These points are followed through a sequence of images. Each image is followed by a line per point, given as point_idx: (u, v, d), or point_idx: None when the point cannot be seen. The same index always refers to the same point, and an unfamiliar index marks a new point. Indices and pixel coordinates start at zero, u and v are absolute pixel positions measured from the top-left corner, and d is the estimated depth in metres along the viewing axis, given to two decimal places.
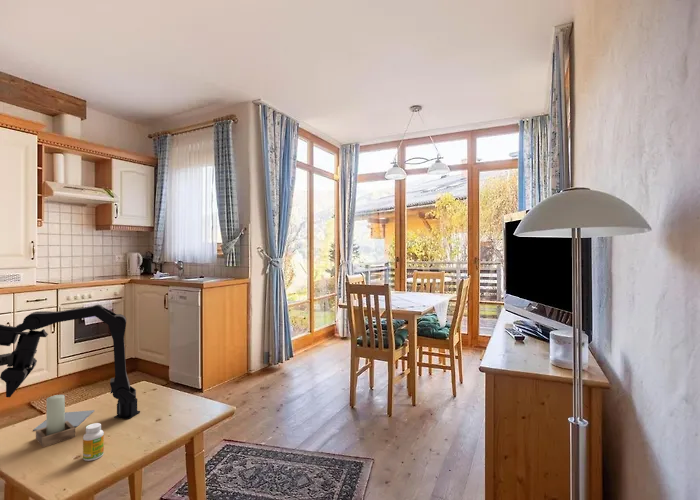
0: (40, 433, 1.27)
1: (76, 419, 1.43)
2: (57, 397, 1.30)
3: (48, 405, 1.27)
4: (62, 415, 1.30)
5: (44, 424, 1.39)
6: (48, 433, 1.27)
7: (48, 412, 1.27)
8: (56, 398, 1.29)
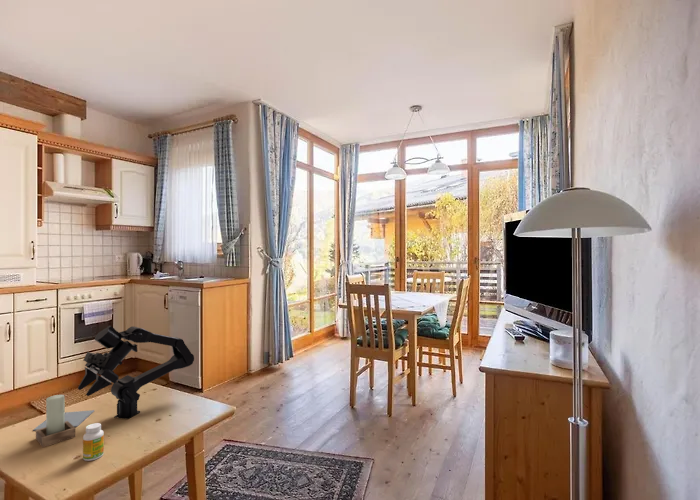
0: (40, 433, 1.27)
1: (76, 419, 1.43)
2: (57, 397, 1.30)
3: (48, 405, 1.27)
4: (62, 415, 1.30)
5: (44, 424, 1.39)
6: (48, 433, 1.27)
7: (48, 412, 1.27)
8: (56, 398, 1.29)
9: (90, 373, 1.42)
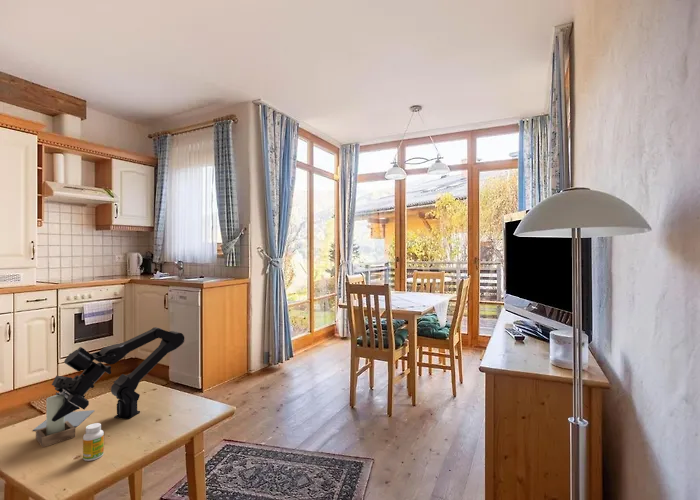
0: (40, 433, 1.27)
1: (76, 419, 1.43)
2: (57, 397, 1.30)
3: (48, 405, 1.27)
4: None
5: (44, 424, 1.39)
6: (48, 433, 1.27)
7: (48, 412, 1.27)
8: (56, 398, 1.29)
9: None
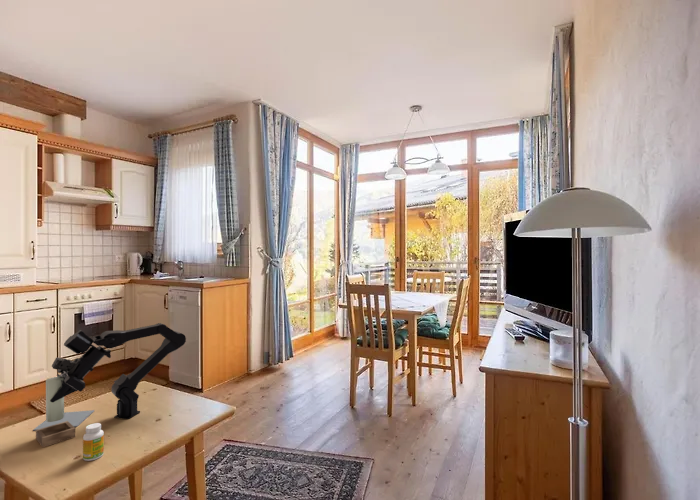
0: (40, 433, 1.27)
1: (76, 419, 1.43)
2: (56, 379, 1.31)
3: (47, 386, 1.29)
4: None
5: (44, 424, 1.39)
6: (47, 414, 1.29)
7: (47, 393, 1.29)
8: (55, 379, 1.30)
9: None
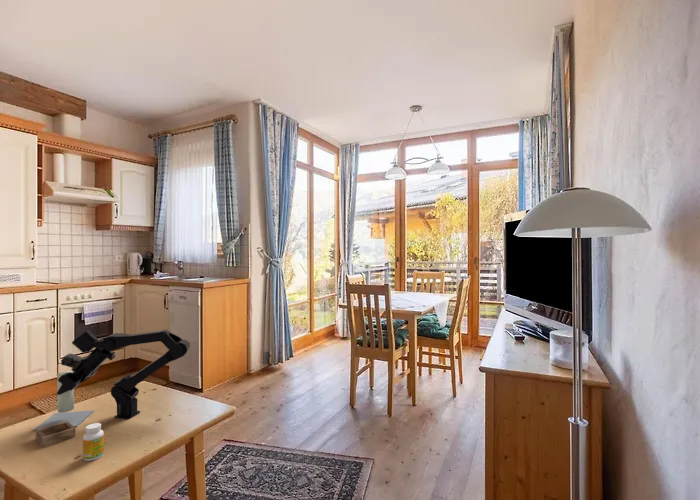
0: (40, 433, 1.27)
1: (76, 419, 1.43)
2: None
3: (57, 379, 1.42)
4: None
5: (44, 424, 1.39)
6: None
7: None
8: None
9: None
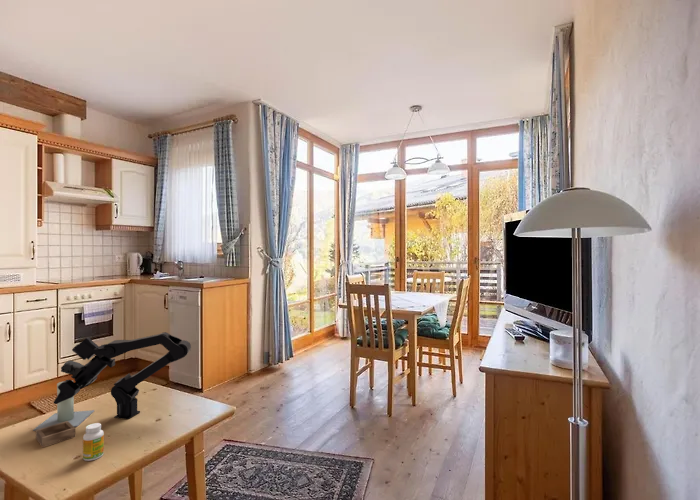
0: (40, 433, 1.27)
1: (76, 419, 1.43)
2: None
3: (57, 388, 1.42)
4: (67, 400, 1.41)
5: (44, 424, 1.39)
6: (57, 414, 1.42)
7: (57, 395, 1.42)
8: None
9: None
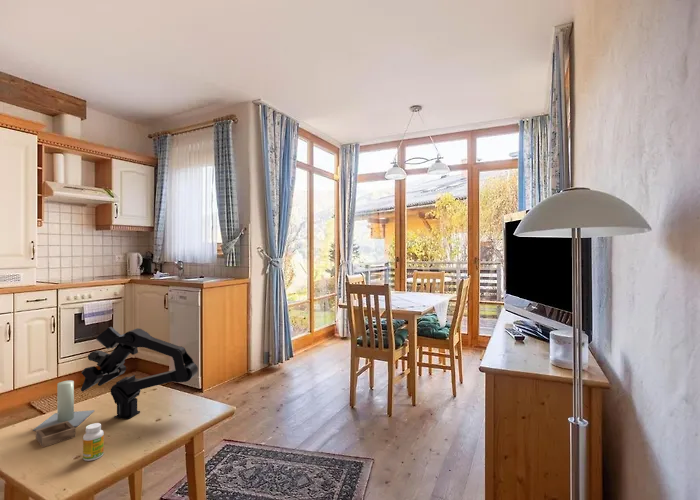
0: (40, 433, 1.27)
1: (76, 419, 1.43)
2: (65, 383, 1.43)
3: (57, 388, 1.42)
4: (67, 400, 1.42)
5: (44, 424, 1.39)
6: (57, 414, 1.42)
7: (57, 395, 1.42)
8: (63, 383, 1.42)
9: None
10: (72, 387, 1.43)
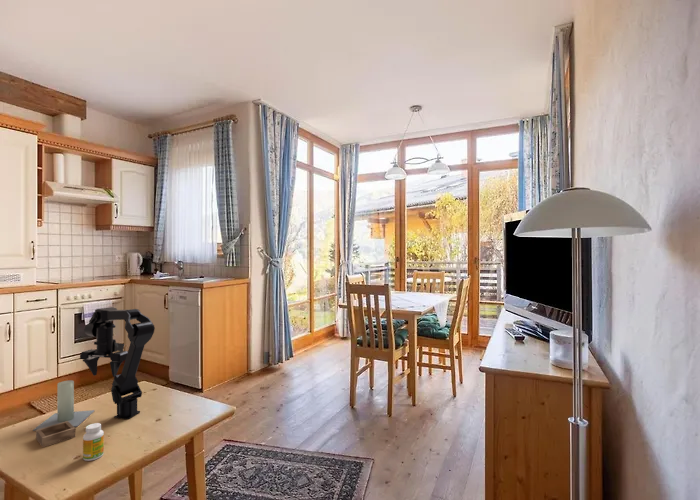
0: (40, 433, 1.27)
1: (76, 419, 1.43)
2: (66, 383, 1.43)
3: (57, 388, 1.42)
4: (67, 400, 1.42)
5: (44, 424, 1.39)
6: (57, 413, 1.42)
7: (57, 395, 1.42)
8: (63, 383, 1.42)
9: None
10: (72, 387, 1.43)
